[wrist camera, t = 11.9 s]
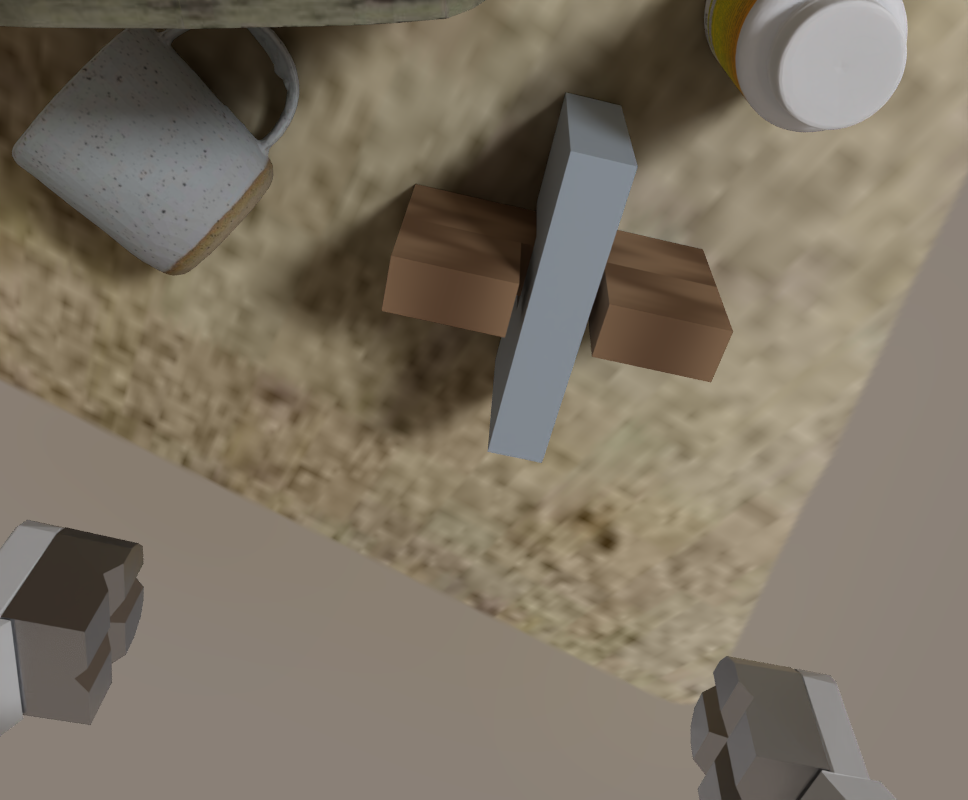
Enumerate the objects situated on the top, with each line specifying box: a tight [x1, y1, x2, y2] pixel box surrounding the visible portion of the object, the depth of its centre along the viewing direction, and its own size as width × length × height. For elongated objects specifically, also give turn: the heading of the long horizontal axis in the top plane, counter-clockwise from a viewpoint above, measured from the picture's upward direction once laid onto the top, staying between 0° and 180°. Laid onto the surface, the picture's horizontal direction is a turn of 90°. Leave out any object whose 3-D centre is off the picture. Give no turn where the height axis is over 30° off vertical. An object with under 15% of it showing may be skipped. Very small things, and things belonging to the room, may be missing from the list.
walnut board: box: [382, 184, 733, 382], centre depth 39 cm, size 14×2×8 cm, turn 78°
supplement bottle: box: [704, 0, 907, 132], centre depth 32 cm, size 6×6×10 cm
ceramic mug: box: [12, 27, 299, 275], centre depth 37 cm, size 11×8×8 cm
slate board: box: [488, 93, 638, 463], centre depth 39 cm, size 14×2×8 cm, turn 168°
